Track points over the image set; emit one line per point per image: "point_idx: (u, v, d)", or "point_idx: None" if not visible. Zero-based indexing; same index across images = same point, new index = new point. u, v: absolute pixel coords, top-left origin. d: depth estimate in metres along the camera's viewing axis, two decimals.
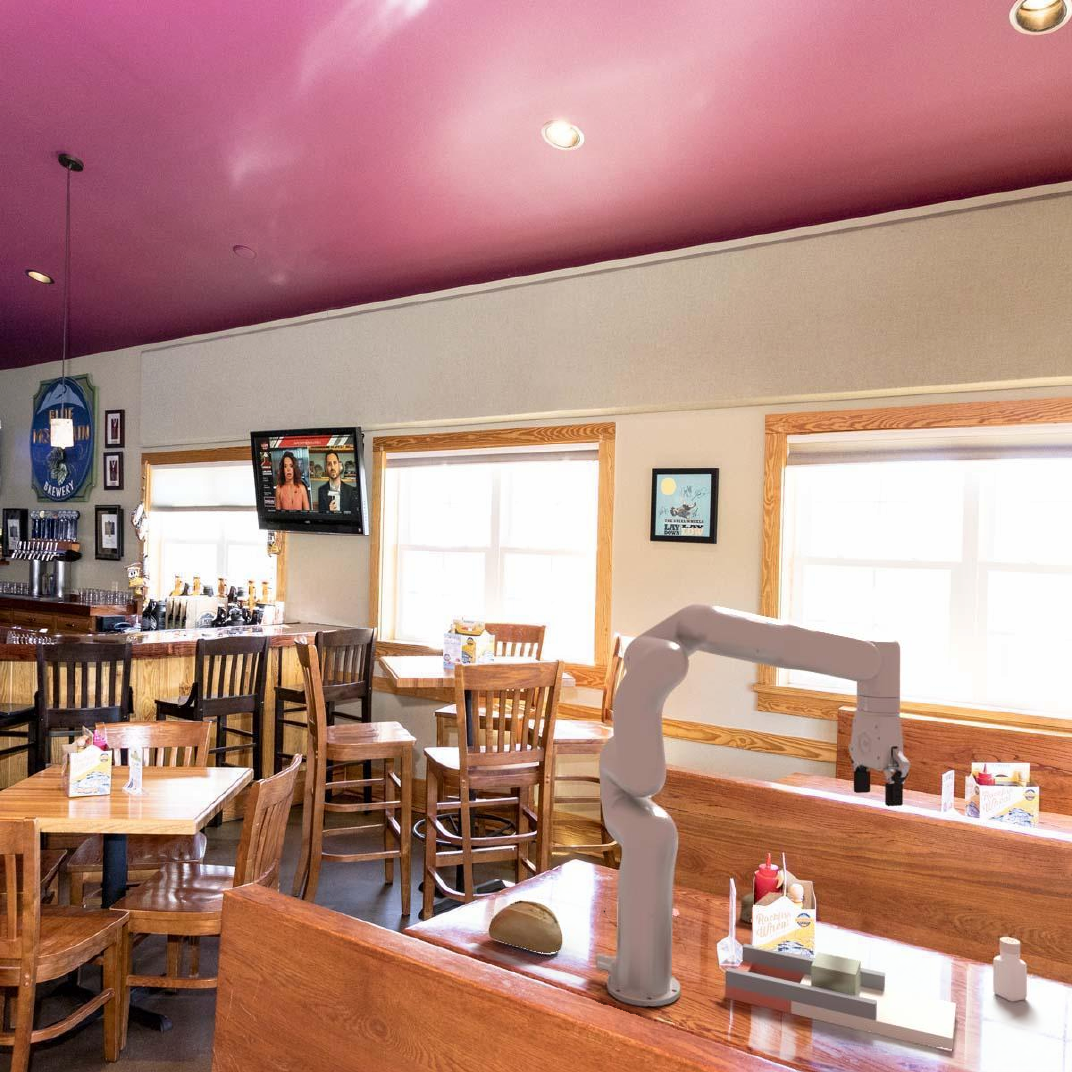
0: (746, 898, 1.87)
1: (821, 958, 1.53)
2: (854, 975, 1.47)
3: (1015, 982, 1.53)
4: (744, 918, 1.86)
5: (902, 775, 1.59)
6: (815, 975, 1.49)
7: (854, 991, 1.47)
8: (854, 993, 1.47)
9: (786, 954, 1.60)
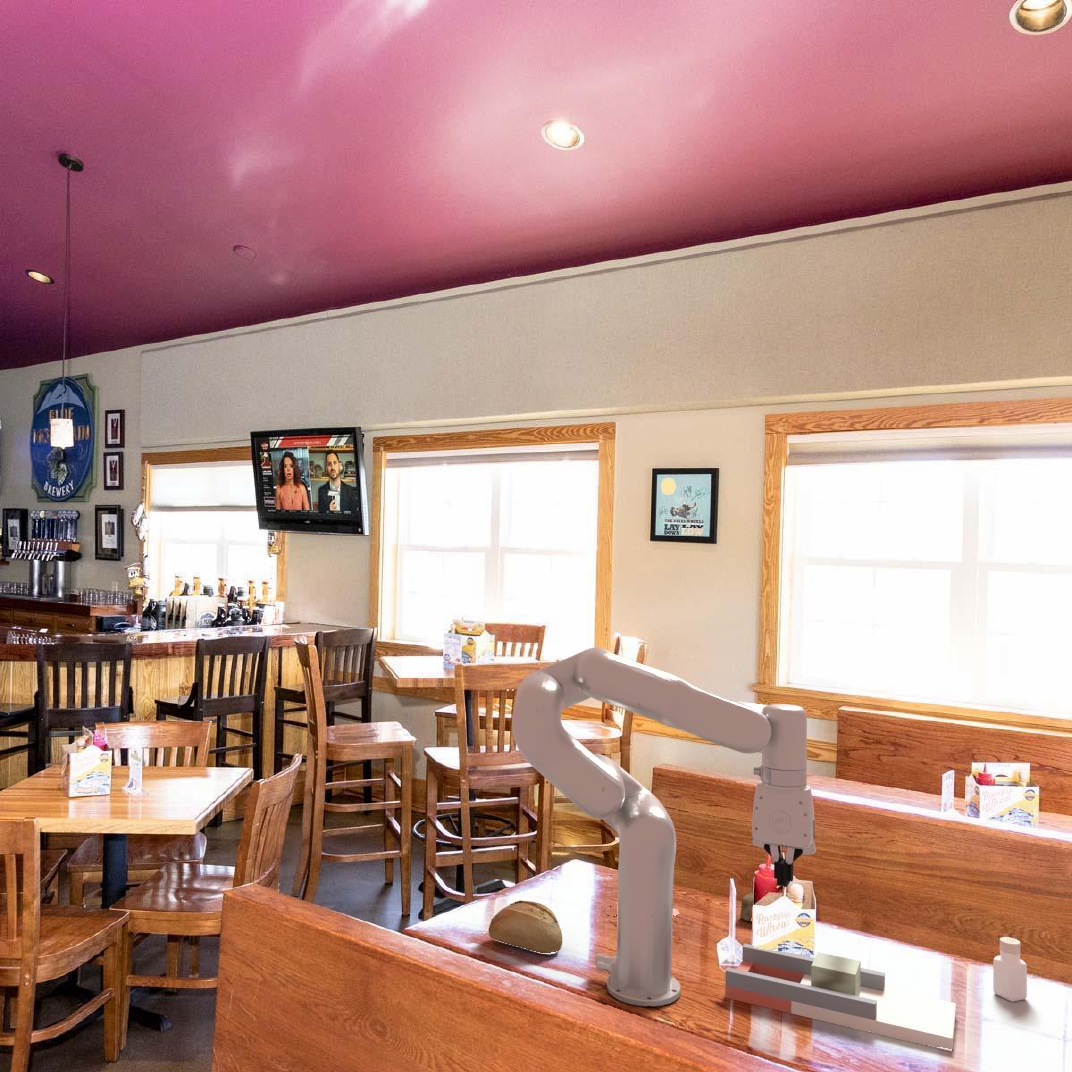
0: (746, 897, 1.88)
1: (821, 958, 1.53)
2: (854, 975, 1.47)
3: (1015, 982, 1.53)
4: (744, 917, 1.86)
5: (800, 854, 1.54)
6: (815, 975, 1.49)
7: (854, 991, 1.47)
8: (854, 993, 1.47)
9: (786, 954, 1.60)
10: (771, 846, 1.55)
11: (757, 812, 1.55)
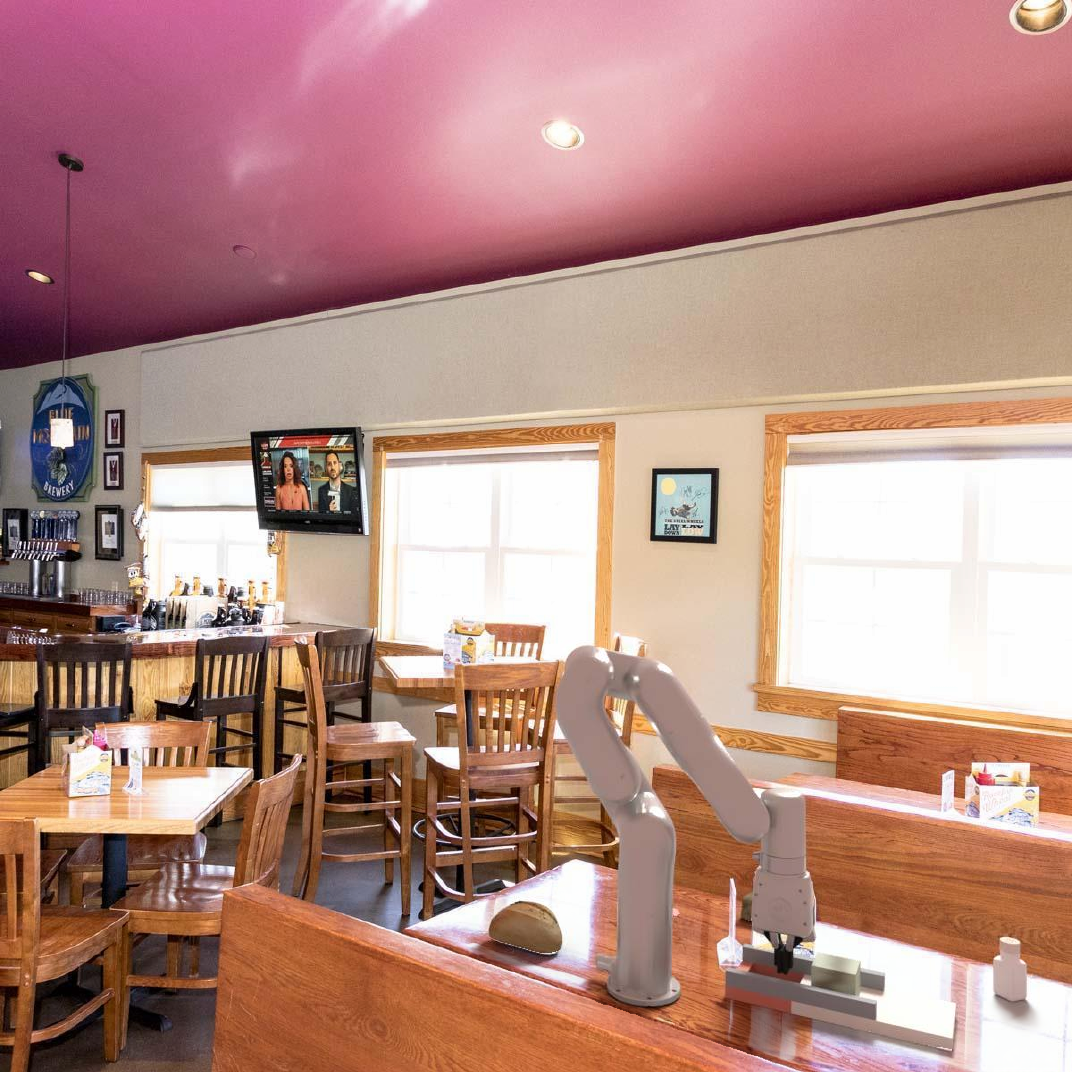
0: (747, 897, 1.88)
1: (821, 958, 1.53)
2: (854, 975, 1.47)
3: (1015, 982, 1.53)
4: (745, 917, 1.87)
5: (800, 941, 1.54)
6: (815, 975, 1.49)
7: (854, 991, 1.47)
8: (854, 993, 1.47)
9: None
10: (771, 933, 1.55)
11: (756, 899, 1.55)
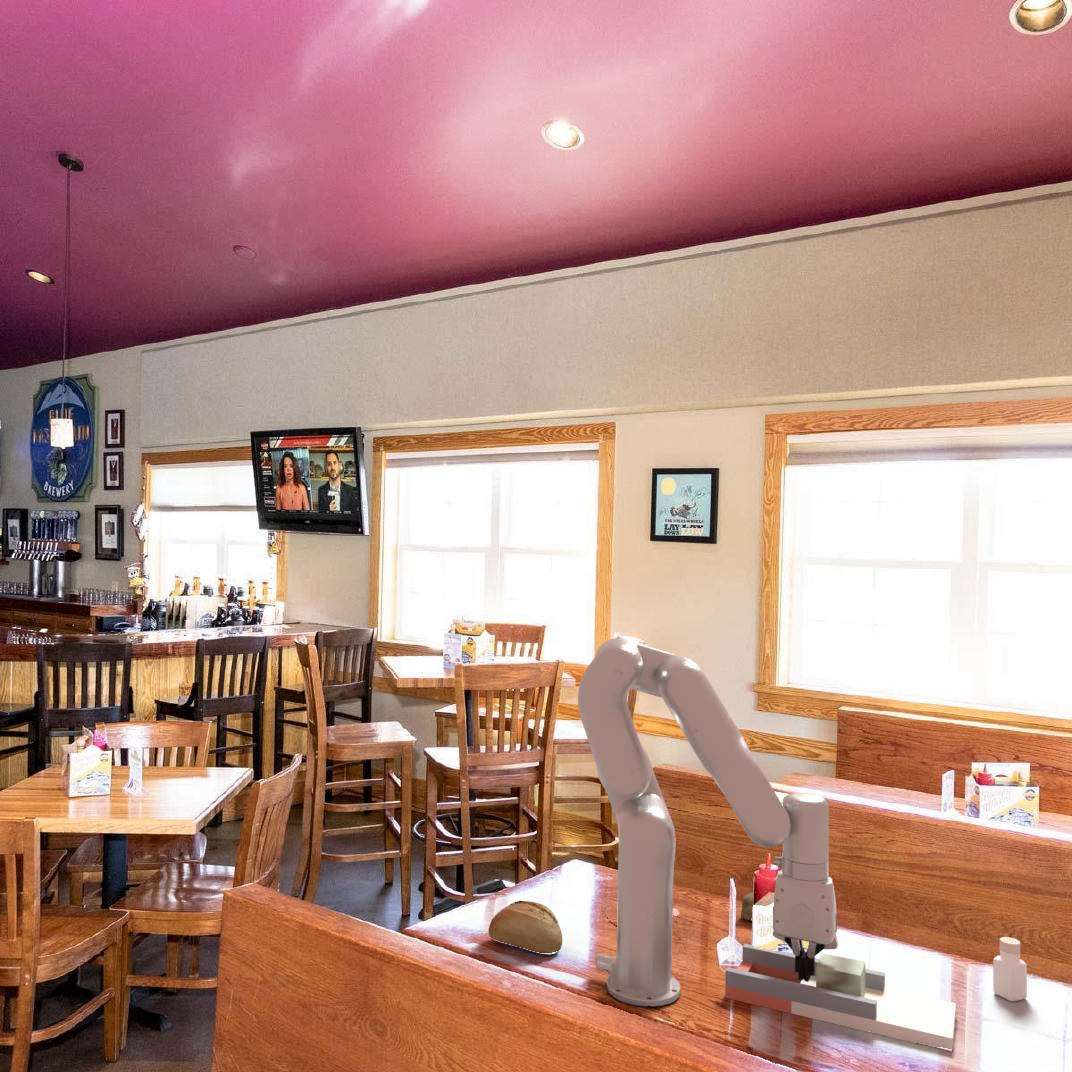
0: (747, 897, 1.88)
1: (826, 959, 1.52)
2: (859, 976, 1.46)
3: (1015, 982, 1.53)
4: (745, 916, 1.87)
5: (822, 948, 1.52)
6: (819, 976, 1.49)
7: (859, 992, 1.46)
8: (859, 994, 1.46)
9: (786, 954, 1.60)
10: (792, 939, 1.53)
11: (778, 905, 1.53)
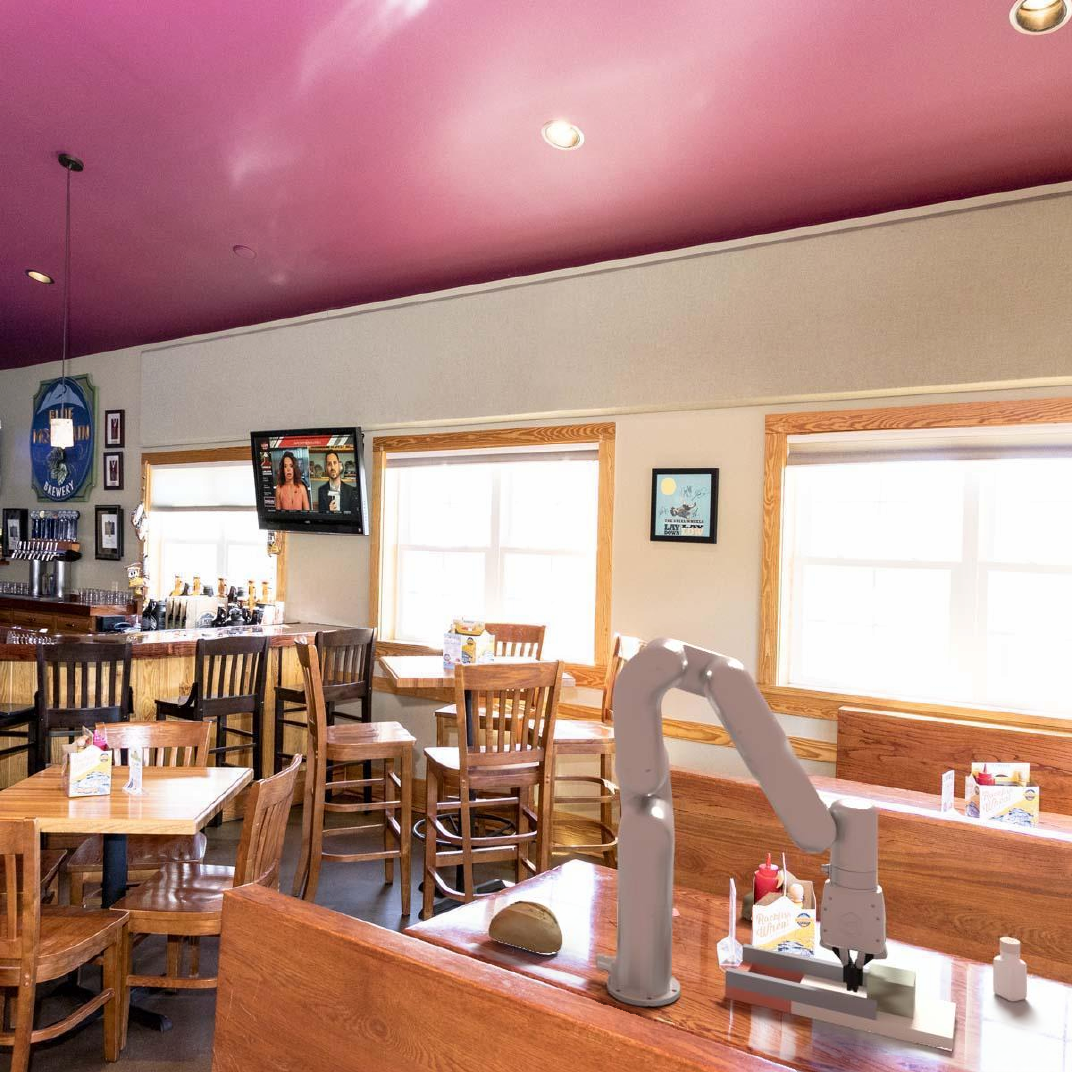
0: (747, 896, 1.89)
1: (875, 969, 1.49)
2: (912, 987, 1.43)
3: (1015, 982, 1.53)
4: (745, 916, 1.87)
5: None
6: (870, 987, 1.45)
7: (912, 1003, 1.43)
8: (912, 1005, 1.43)
9: (786, 954, 1.60)
10: (840, 949, 1.49)
11: (826, 913, 1.50)
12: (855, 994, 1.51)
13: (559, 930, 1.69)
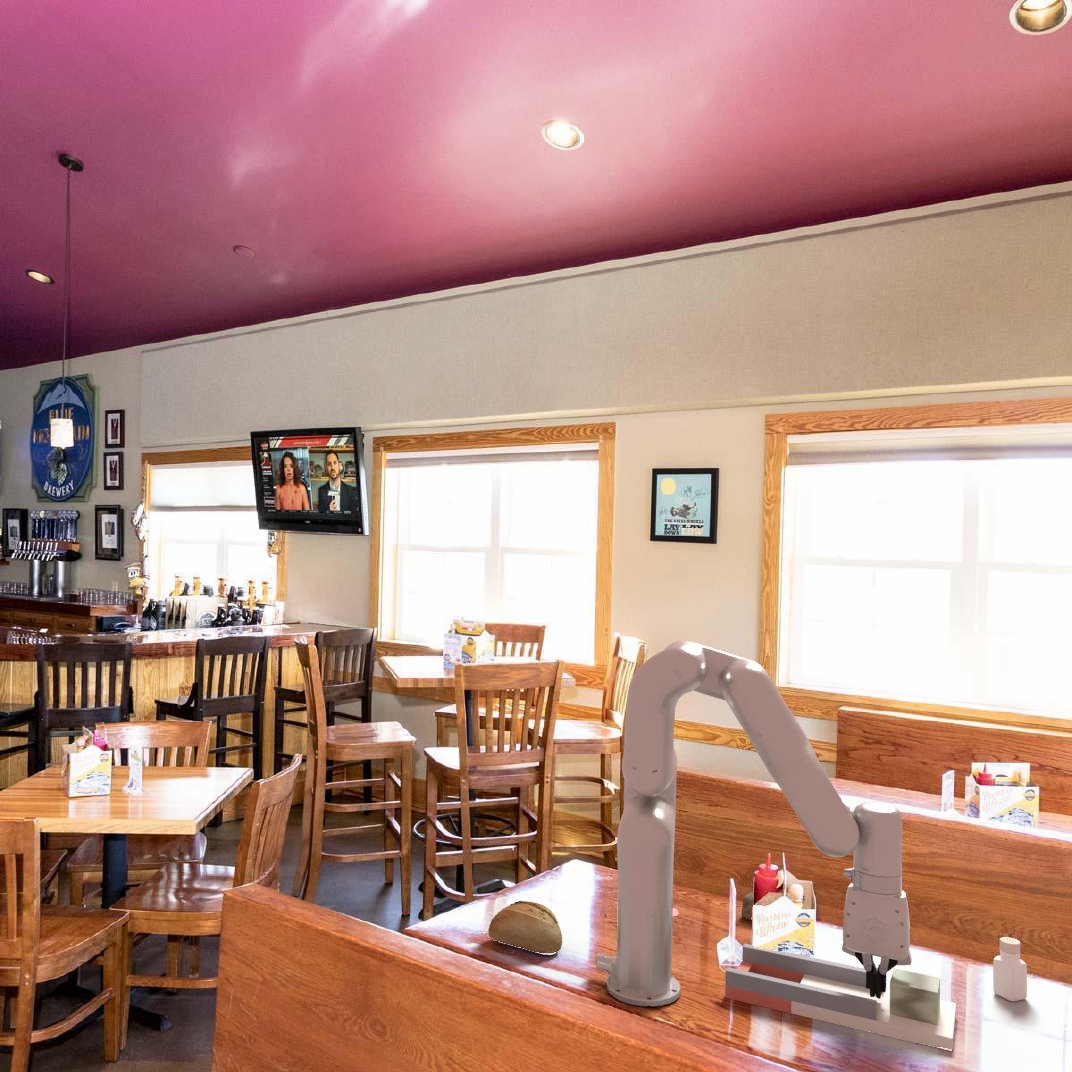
0: (748, 896, 1.89)
1: (899, 974, 1.47)
2: (936, 993, 1.41)
3: (1015, 982, 1.53)
4: (745, 916, 1.87)
5: None
6: (893, 992, 1.44)
7: (936, 1010, 1.41)
8: (936, 1012, 1.41)
9: (786, 954, 1.60)
10: (863, 954, 1.48)
11: (849, 918, 1.48)
12: (855, 994, 1.51)
13: (559, 930, 1.69)
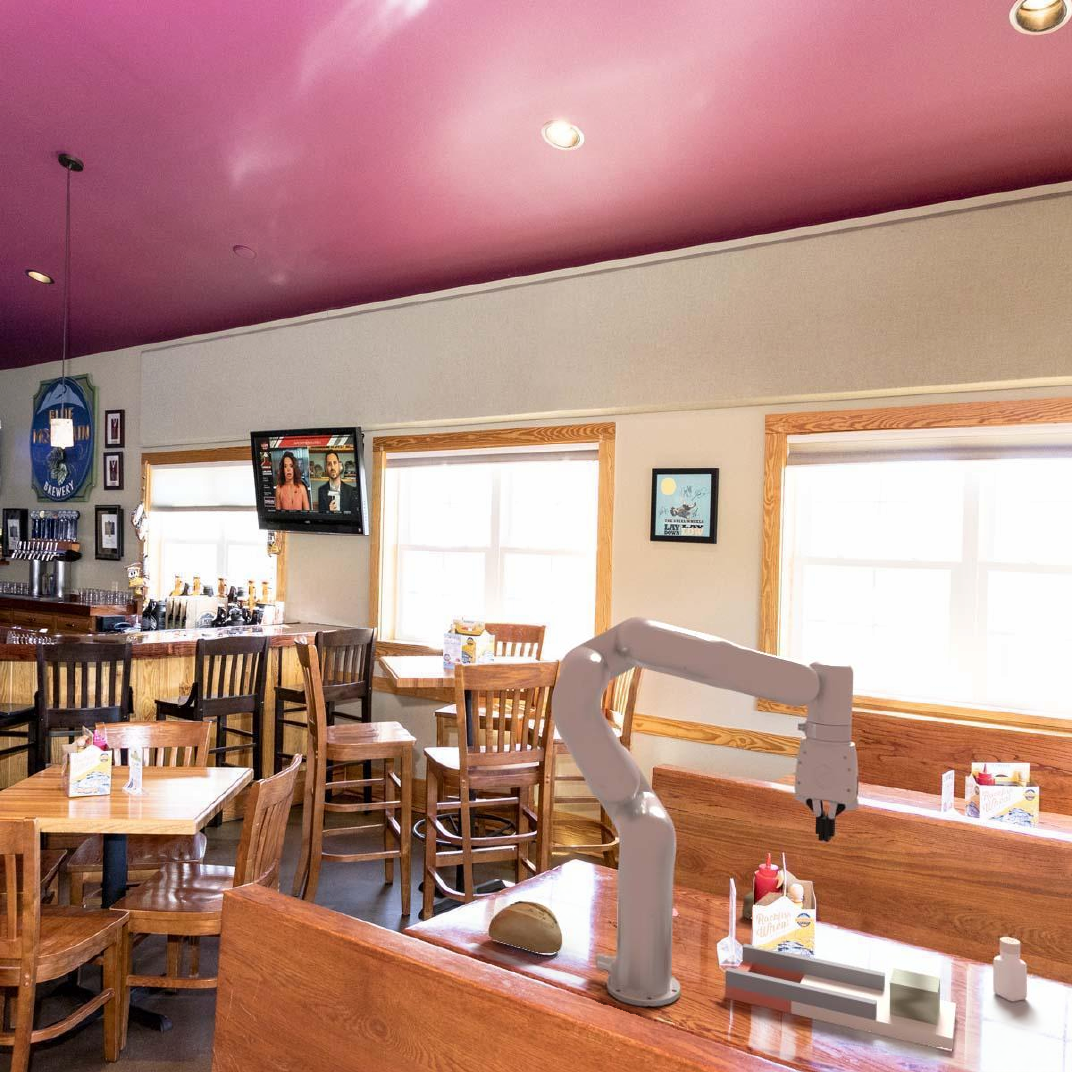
0: (748, 895, 1.89)
1: (899, 974, 1.47)
2: (936, 993, 1.41)
3: (1015, 982, 1.53)
4: (746, 915, 1.88)
5: None
6: (893, 992, 1.44)
7: (936, 1010, 1.41)
8: (936, 1012, 1.41)
9: (786, 954, 1.60)
10: (813, 801, 1.56)
11: (800, 767, 1.56)
12: (855, 994, 1.51)
13: (559, 930, 1.69)
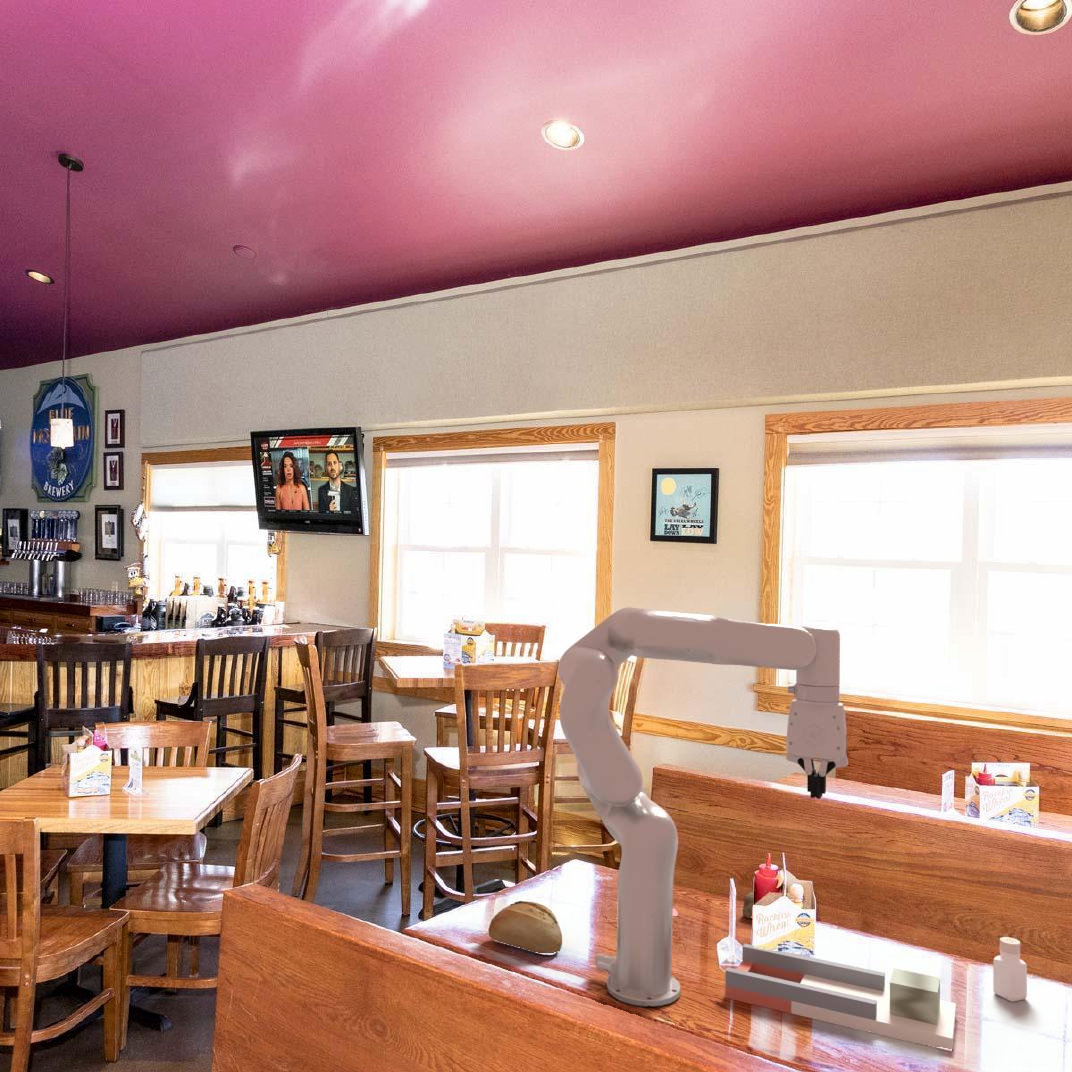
0: (749, 895, 1.89)
1: (899, 974, 1.47)
2: (936, 993, 1.41)
3: (1015, 982, 1.53)
4: (746, 914, 1.88)
5: (833, 767, 1.61)
6: (893, 992, 1.44)
7: (936, 1010, 1.41)
8: (936, 1012, 1.41)
9: (786, 954, 1.60)
10: (805, 760, 1.62)
11: (792, 727, 1.62)
12: (855, 994, 1.51)
13: (559, 930, 1.69)
